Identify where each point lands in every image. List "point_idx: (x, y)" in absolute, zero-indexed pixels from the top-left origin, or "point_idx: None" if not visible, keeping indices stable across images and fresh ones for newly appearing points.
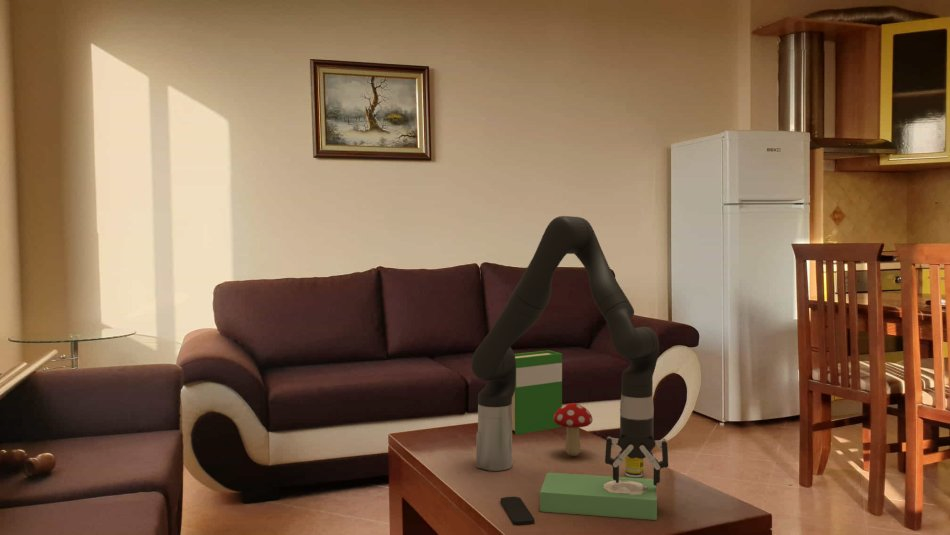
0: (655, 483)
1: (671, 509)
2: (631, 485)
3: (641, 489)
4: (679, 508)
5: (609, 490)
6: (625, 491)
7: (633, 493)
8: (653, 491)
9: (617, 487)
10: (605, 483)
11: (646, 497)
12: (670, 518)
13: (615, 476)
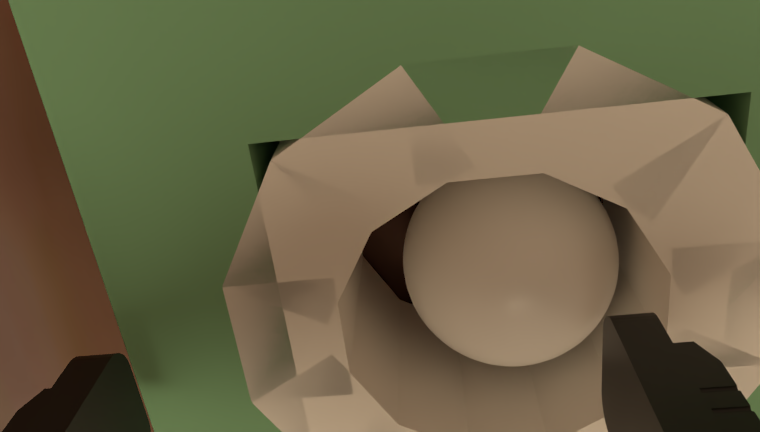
0: (82, 365)
1: (64, 261)
2: (435, 425)
3: (295, 307)
4: (8, 300)
5: (718, 161)
6: (492, 251)
7: (374, 142)
8: (140, 283)
9: (591, 385)
10: (757, 382)
11: (168, 33)
12: (5, 40)
13: (687, 380)
